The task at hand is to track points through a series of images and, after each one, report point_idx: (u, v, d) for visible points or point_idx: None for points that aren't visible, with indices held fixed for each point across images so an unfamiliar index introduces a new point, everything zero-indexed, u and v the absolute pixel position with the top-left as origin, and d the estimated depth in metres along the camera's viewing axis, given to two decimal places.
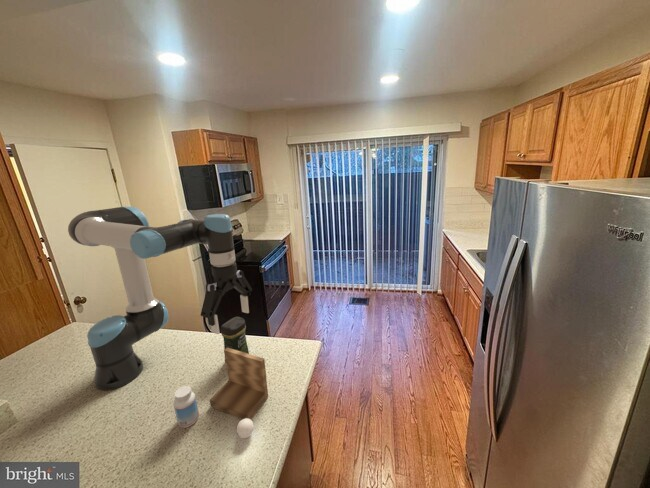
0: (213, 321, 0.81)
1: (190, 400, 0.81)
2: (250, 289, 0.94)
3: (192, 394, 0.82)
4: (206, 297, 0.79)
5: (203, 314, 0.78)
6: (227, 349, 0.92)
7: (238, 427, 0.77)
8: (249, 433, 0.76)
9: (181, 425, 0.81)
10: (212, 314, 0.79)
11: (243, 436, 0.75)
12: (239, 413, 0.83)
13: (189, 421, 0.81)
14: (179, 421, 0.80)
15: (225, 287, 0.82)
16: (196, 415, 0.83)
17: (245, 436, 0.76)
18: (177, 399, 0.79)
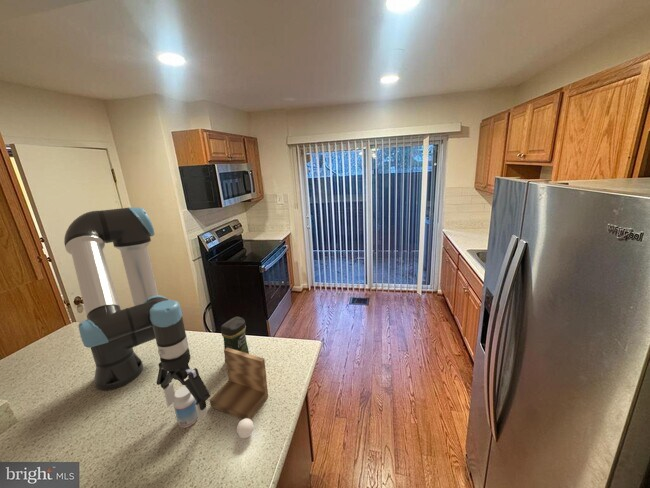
0: None
1: (190, 400, 0.81)
2: (201, 400, 0.76)
3: None
4: None
5: None
6: (227, 349, 0.92)
7: (238, 427, 0.77)
8: (249, 433, 0.76)
9: (181, 425, 0.81)
10: (161, 386, 0.82)
11: (243, 436, 0.75)
12: (239, 413, 0.83)
13: (189, 421, 0.81)
14: (179, 421, 0.80)
15: (168, 374, 0.78)
16: (196, 415, 0.83)
17: (245, 436, 0.76)
18: (177, 399, 0.79)
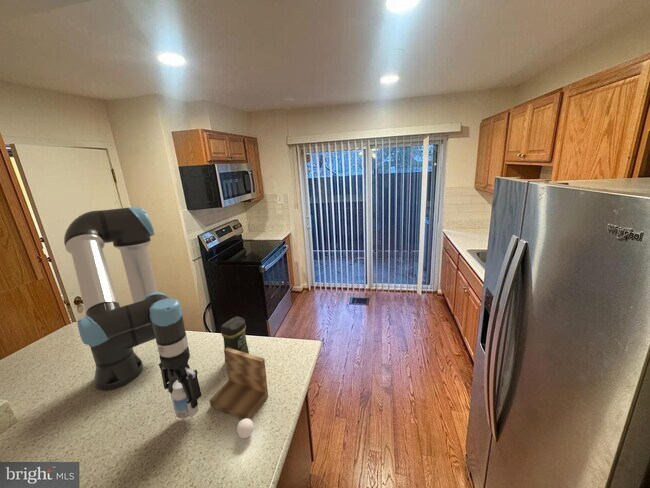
0: None
1: None
2: (193, 399, 0.78)
3: None
4: None
5: None
6: (227, 349, 0.92)
7: (238, 427, 0.77)
8: (249, 433, 0.76)
9: (179, 416, 0.80)
10: (168, 390, 0.82)
11: (243, 436, 0.75)
12: (239, 413, 0.83)
13: (187, 413, 0.81)
14: (177, 412, 0.80)
15: (168, 373, 0.78)
16: None
17: (245, 436, 0.76)
18: (175, 390, 0.78)
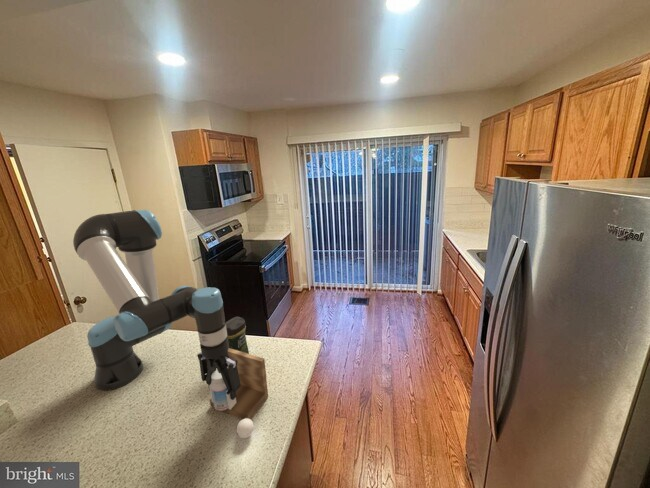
0: (210, 389, 0.82)
1: None
2: (233, 389, 0.77)
3: None
4: None
5: (205, 375, 0.83)
6: None
7: (238, 427, 0.77)
8: (249, 433, 0.76)
9: (218, 408, 0.79)
10: (206, 382, 0.81)
11: (243, 436, 0.75)
12: (239, 413, 0.83)
13: (226, 404, 0.80)
14: (216, 404, 0.79)
15: (208, 363, 0.77)
16: None
17: (245, 436, 0.76)
18: (214, 381, 0.78)
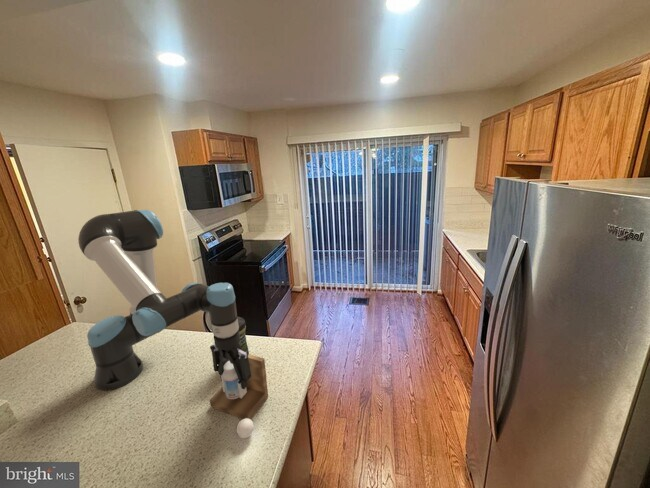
0: (222, 379, 0.87)
1: None
2: (244, 379, 0.81)
3: None
4: None
5: (217, 366, 0.87)
6: None
7: (238, 427, 0.77)
8: (249, 433, 0.76)
9: (229, 397, 0.84)
10: (218, 372, 0.86)
11: (243, 436, 0.75)
12: (239, 413, 0.83)
13: (237, 393, 0.84)
14: (228, 393, 0.84)
15: (220, 354, 0.82)
16: None
17: (245, 436, 0.76)
18: (226, 371, 0.82)
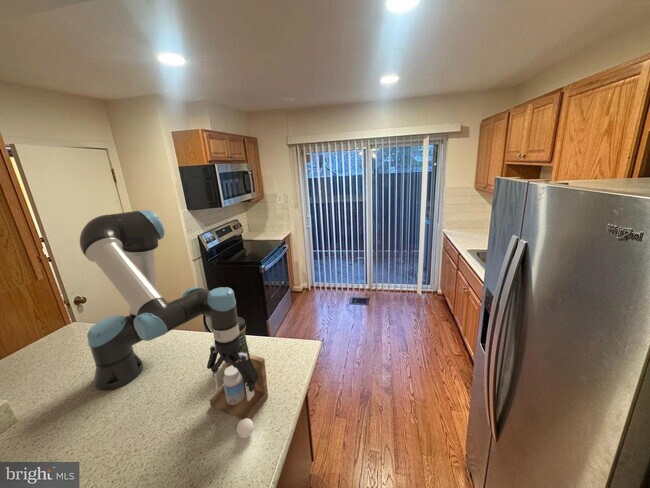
0: None
1: (239, 378, 0.85)
2: (252, 381, 0.80)
3: None
4: None
5: None
6: None
7: (238, 427, 0.77)
8: (249, 433, 0.76)
9: (230, 402, 0.85)
10: (212, 369, 0.87)
11: (243, 436, 0.75)
12: (239, 413, 0.83)
13: (238, 399, 0.85)
14: (228, 398, 0.84)
15: (220, 357, 0.82)
16: (243, 393, 0.87)
17: (245, 436, 0.76)
18: (227, 377, 0.83)
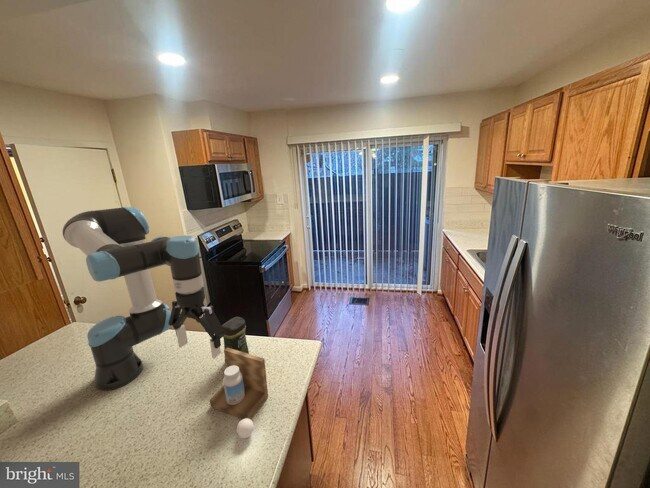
0: None
1: (239, 378, 0.85)
2: (216, 336, 0.75)
3: (240, 373, 0.86)
4: None
5: None
6: (227, 349, 0.92)
7: (238, 427, 0.77)
8: (249, 433, 0.76)
9: (230, 402, 0.85)
10: (173, 326, 0.81)
11: (243, 436, 0.75)
12: (239, 413, 0.83)
13: (238, 399, 0.85)
14: (228, 398, 0.84)
15: (182, 312, 0.77)
16: (243, 393, 0.87)
17: (245, 436, 0.76)
18: (227, 377, 0.83)
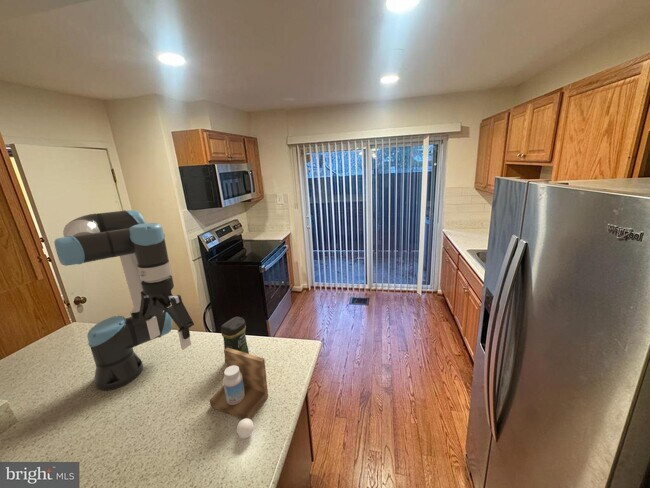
0: None
1: (239, 378, 0.85)
2: (184, 326, 0.73)
3: (240, 373, 0.86)
4: None
5: None
6: (227, 349, 0.92)
7: (238, 427, 0.77)
8: (249, 433, 0.76)
9: (230, 402, 0.85)
10: (144, 317, 0.80)
11: (243, 436, 0.75)
12: (239, 413, 0.83)
13: (238, 399, 0.85)
14: (228, 398, 0.84)
15: (150, 302, 0.75)
16: (243, 393, 0.87)
17: (245, 436, 0.76)
18: (227, 377, 0.83)
